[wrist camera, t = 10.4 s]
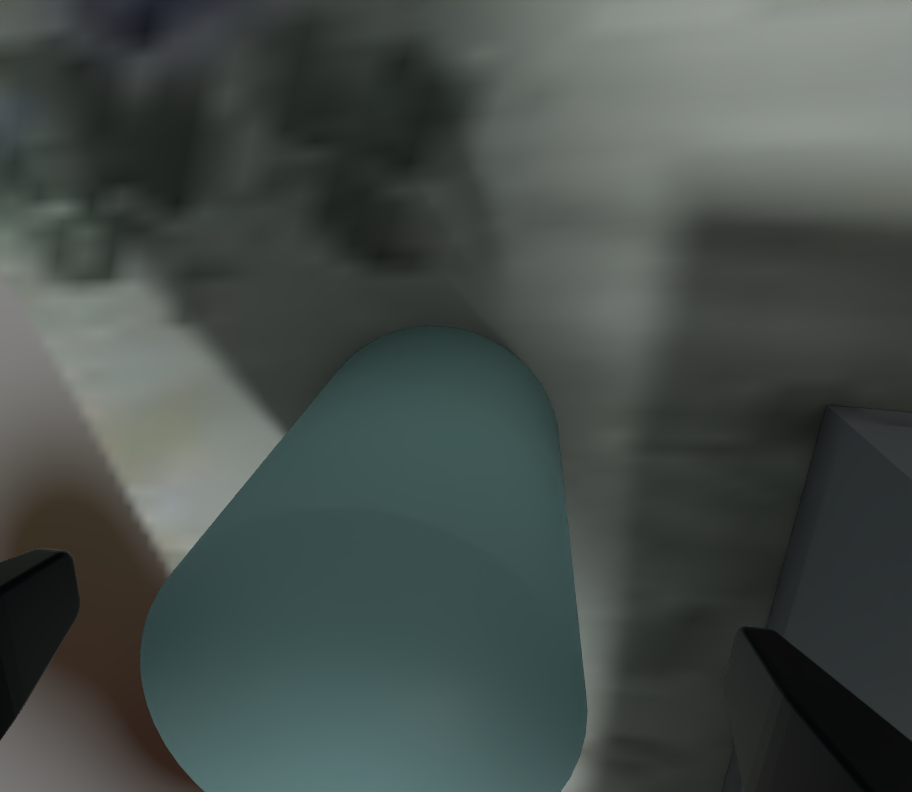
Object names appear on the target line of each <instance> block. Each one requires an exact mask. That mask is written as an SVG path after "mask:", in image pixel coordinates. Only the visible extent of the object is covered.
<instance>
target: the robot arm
mask: <svg viewBox="0 0 912 792" xmlns="http://www.w3.org/2000/svg"><path fill="white" fill-rule="evenodd" d="M79 609H80V594H79V588H78V582H77V576H76V570H75V565H74V559H73V557H72V556H71V554H70V553H68V552H67V551H64V550H54V549H44V548H39V549H35V550H32V551H29V552H26V553H24V554H21V555H18V556H16V557H13V558H10V559H8V560H5V561H2V562H0V740H1V739H2V738H3V736H4V735H5V733H6V732H7V730H8V729H9V727H10V726H11V725H12V723H13V722H14V720H15V719H16V717H17V716H18V714H19V713H20V711H21V710H22V708H23V706H24V705H25V703H26V702H27V700H28V698H29V697H30V695H31V693H32V692H33V690H34V688H35V686H36V685H37V683H38V682H39V680H40V678H41V677H42V675H43V673H44V672H45V670H46V668H47V667H48V665H49V663H50V662H51V660H52V658H53V656H54V655H55V653H56V652H57V650H58V648H59V647H60V645H61V643H62V642H63V640H64V638H65V636H66V635H67V633H68V632H69V630H70V628H71V627H72V625H73V623H74V622H75V620H76V618H77V615H78V613H79ZM725 697H726V702H727V708H728V713H729V718H730V723H731V728H732V734H733V739H734V744H735V749H736V755H737V760H738V765H739V770H740V776H741V781H742V786H743V791H744V792H912V741H911V740H910V739H909V738H907V737H906V736H905V735H904V734H902V733H901V732H900V731H899V730H898V729H896V728H895V727H894V726H893V725H891V724H890V723H889V722H888V721H886V720H885V719H884V718H883V717H881V716H880V715H879V714H878V713H876V712H875V711H874V710H873V709H871V708H870V707H869V706H868V705H867V704H865V703H864V702H863V701H862V700H860V699H859V698H858V697H857V696H855V695H854V694H853V693H852V692H850V691H849V690H848V689H847V688H845V687H844V686H843V685H842V684H841V683H839V682H838V681H837V680H836V679H834V678H833V677H832V676H831V675H829V674H828V673H827V672H826V671H824V670H823V669H822V668H821V667H819V666H818V665H817V664H816V663H815V662H813V661H812V660H811V659H810V658H808V657H807V656H806V655H805V654H803V653H802V652H801V651H800V650H798V649H797V648H796V647H795V646H793V645H792V644H791V643H790V642H788V641H787V640H786V639H785V638H784V637H782V636H781V635H780V634H779V633H777V632H776V631H774V630H772V629H766V628H757V627H748V626H743V627H741V628H740V629H739V630H738V631H737V633H736V636H735V639H734V643H733V647H732V651H731V655H730V659H729V663H728V667H727V671H726V675H725Z"/></svg>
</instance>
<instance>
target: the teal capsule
mask: <svg viewBox="0 0 912 792" xmlns="http://www.w3.org/2000/svg"><path fill="white" fill-rule="evenodd" d="M140 661H141V662H140V664H141V680H142V684H143V689H144V694H145V698H146V703H147V705H148V708H149V711H150V714H151V716H152V719H153V722H154V724H155V726H156V728H157V730H158V732H159V734H160V735H161V737H162V739H163V741H164V743H165V745H166V746H167V748H168V749H169V751H170V752H171V753H172V755H173V756H174V758H175V759H176V761H177V762H178V763H179V765H180V766H181V767H182V768H183V769H184V770H185V771H186V773H187V774H188V775H189V776H190V777H191V778H192V780H193V781H194V782H195V783H196V784H197V785H198V786H199V787H201V788H202V789H203V790H204V791H205V792H561V790H562V789H563V787H564V786H565V784H566V783H567V781H568V780H569V778H570V777H571V775H572V772H573V770H574V768H575V766H576V764H577V761H578V759H579V757H580V754H581V750H582V746H583V742H584V738H585V734H586V722H587V700H586V689H585V679H584V670H583V661H582V651H581V642H580V633H579V623H578V614H577V604H576V595H575V586H574V576H573V567H572V558H571V548H570V539H569V529H568V520H567V511H566V501H565V492H564V482H563V473H562V464H561V454H560V445H559V436H558V426H557V422H556V418H555V414H554V410H553V408H552V405H551V403H550V400H549V398H548V396H547V394H546V392H545V390H544V389H543V387H542V385H541V383H540V382H539V381H538V379H537V378H536V377H535V375H534V374H533V373H532V371H531V370H530V369H529V368H528V367H527V366H526V365H525V364H524V363H523V362H522V361H521V360H520V359H519V358H518V357H516V356H515V355H514V354H512V353H511V352H510V351H508V350H507V349H506V348H504V347H502V346H501V345H499V344H497V343H495V342H494V341H492V340H490V339H488V338H485V337H483V336H480V335H478V334H476V333H472V332H469V331H465V330H461V329H456V328H450V327H442V326H423V327H414V328H408V329H404V330H400V331H395V332H392V333H390V334H387V335H385V336H382V337H380V338H378V339H376V340H374V341H372V342H370V343H369V344H367V345H365V346H364V347H362V348H361V349H360V350H359V351H357V352H356V353H355V354H353V355H352V356H351V357H350V358H349V359H348V360H347V361H346V362H345V363H344V364H343V365H342V366H341V368H340V369H339V370H338V371H337V373H336V374H335V375H334V376H333V377H332V379H331V380H330V381H329V382H328V383H327V385H326V386H325V387H324V388H323V390H322V391H321V392H320V393H319V394H318V396H317V397H316V398H315V399H314V401H313V402H312V403H311V404H310V405H309V407H308V408H307V409H306V410H305V411H304V413H303V414H302V415H301V416H300V418H299V419H298V420H297V421H296V422H295V424H294V425H293V426H292V427H291V428H290V430H289V431H288V432H287V433H286V435H285V436H284V437H283V438H282V439H281V441H280V442H279V443H278V444H277V446H276V447H275V448H274V449H273V450H272V452H271V453H270V454H269V455H268V456H267V458H266V459H265V460H264V461H263V463H262V464H261V465H260V466H259V467H258V469H257V470H256V471H255V472H254V474H253V475H252V476H251V477H250V478H249V480H248V481H247V482H246V483H245V484H244V486H243V487H242V488H241V489H240V491H239V492H238V493H237V494H236V495H235V497H234V498H233V499H232V500H231V501H230V503H229V504H228V505H227V506H226V508H225V509H224V510H223V511H222V512H221V514H220V515H219V516H218V517H217V519H216V520H215V521H214V522H213V523H212V525H211V526H210V527H209V528H208V529H207V531H206V532H205V533H204V534H203V536H202V537H201V538H200V539H199V540H198V542H197V543H196V544H195V545H194V547H193V548H192V549H191V550H190V551H189V553H188V554H187V555H186V556H185V557H184V559H183V560H182V561H181V562H180V564H179V565H178V566H177V567H176V568H175V570H174V571H173V572H172V574H171V575H170V576H169V578H168V579H167V581H166V582H165V583H164V585H163V586H162V587H161V589H160V590H159V592H158V594H157V596H156V598H155V600H154V602H153V604H152V607H151V608H150V611H149V613H148V617H147V620H146V624H145V627H144V631H143V635H142V644H141V654H140Z"/></svg>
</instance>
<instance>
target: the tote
mask: <svg viewBox="0 0 912 792" xmlns="http://www.w3.org/2000/svg"><path fill="white" fill-rule="evenodd" d="M766 629H772V630H774V631H776V632H777V633H779V634H780V635H781V636H782V637H784V638H785V639H786V640H787V641H788V642H790V643H791V644H792V645H793V646H795V647H796V648H797V649H798V650H800V651H801V652H802V653H803V654H805V655H806V656H807V657H808V658H810V659H811V660H812V661H813V662H815V663H816V664H817V665H818V666H819V667H821V668H822V669H823V670H824V671H826V672H827V673H828V674H829V675H831V676H832V677H833V678H834V679H836V680H837V681H838V682H839V683H841V684H842V685H843V686H844V687H845V688H847V689H848V690H849V691H850V692H852V693H853V694H854V695H855V696H857V697H858V698H859V699H860V700H862V701H863V702H864V703H865V704H867V705H868V706H869V707H870V708H871V709H873V710H874V711H875V712H876V713H878V714H879V715H880V716H881V717H883V718H884V719H885V720H886V721H888V722H889V723H890V724H891V725H893V726H894V727H895V728H896V729H898V730H899V731H900V732H901V733H902V734H904V735H905V736H906V737H907V738H909V739H910V740H911V741H912V412H900V411H889V410H878V409H866V408H855V407H843V406H832V405H827V406H826V410H825V414H824V417H823V421H822V425H821V428H820V432H819V436H818V439H817V443H816V447H815V450H814V454H813V458H812V462H811V465H810V469H809V473H808V476H807V480H806V484H805V487H804V491H803V495H802V498H801V502H800V506H799V509H798V513H797V517H796V520H795V524H794V528H793V532H792V535H791V539H790V543H789V546H788V550H787V554H786V557H785V561H784V565H783V568H782V572H781V576H780V579H779V583H778V587H777V591H776V594H775V598H774V602H773V605H772V609H771V613H770V616H769V620H768V624H767V627H766ZM722 792H744V791H743V786H742V781H741V776H740V770H739V765H738V760H737V755H736V749H735V745H734V749H733V753H732V756H731V760H730V764H729V767H728V771H727V775H726V778H725V782H724V786H723V790H722Z"/></svg>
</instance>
